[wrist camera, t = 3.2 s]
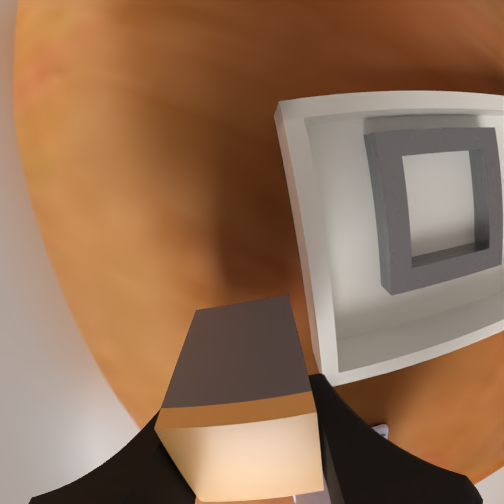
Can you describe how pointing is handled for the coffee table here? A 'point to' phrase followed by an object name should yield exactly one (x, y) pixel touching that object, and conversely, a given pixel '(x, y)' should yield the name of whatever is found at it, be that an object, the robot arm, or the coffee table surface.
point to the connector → (243, 406)
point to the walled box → (365, 230)
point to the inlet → (397, 214)
